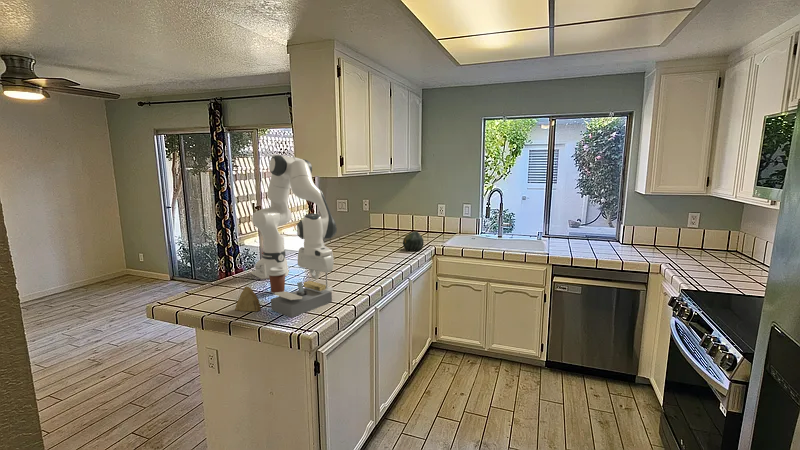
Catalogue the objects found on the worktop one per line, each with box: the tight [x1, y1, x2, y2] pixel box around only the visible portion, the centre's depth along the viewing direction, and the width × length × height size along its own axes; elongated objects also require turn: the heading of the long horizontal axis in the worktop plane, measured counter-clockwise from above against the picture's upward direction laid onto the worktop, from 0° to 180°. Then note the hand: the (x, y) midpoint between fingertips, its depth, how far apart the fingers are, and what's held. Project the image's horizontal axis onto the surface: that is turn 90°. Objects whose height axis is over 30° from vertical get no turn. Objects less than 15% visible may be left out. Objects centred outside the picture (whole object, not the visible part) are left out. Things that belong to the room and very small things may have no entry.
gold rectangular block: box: [303, 280, 326, 291], centre depth 182 cm, size 11×4×2 cm, turn 54°
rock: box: [234, 286, 262, 312], centre depth 171 cm, size 11×9×10 cm
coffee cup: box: [268, 267, 286, 295], centre depth 195 cm, size 9×9×12 cm
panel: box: [270, 287, 333, 318], centre depth 176 cm, size 14×23×7 cm, turn 144°
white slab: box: [274, 291, 302, 300], centre depth 170 cm, size 11×6×1 cm, turn 54°
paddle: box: [296, 281, 305, 295], centre depth 176 cm, size 2×2×6 cm
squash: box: [402, 231, 425, 251], centre depth 288 cm, size 14×15×15 cm
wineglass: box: [324, 247, 335, 292], centre depth 198 cm, size 8×8×21 cm
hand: (315, 278), depth 181 cm, fingers closed
